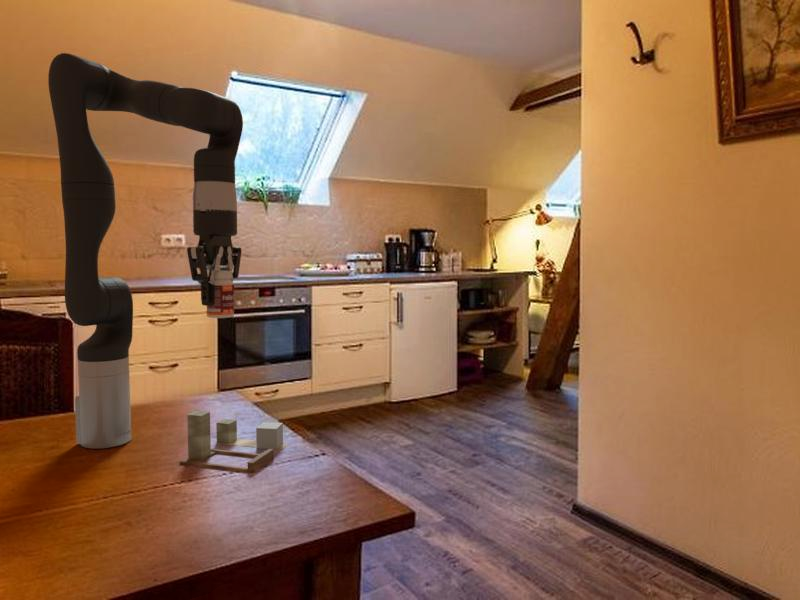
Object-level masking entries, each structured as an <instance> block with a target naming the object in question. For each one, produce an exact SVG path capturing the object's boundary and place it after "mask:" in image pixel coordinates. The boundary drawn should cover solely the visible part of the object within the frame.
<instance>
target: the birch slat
mask: <svg viewBox="0 0 800 600" xmlns="http://www.w3.org/2000/svg"><path fill="white" fill-rule="evenodd" d="M237 422H238V421H237V419H229V418H228V419H227V418H223V419H221V420H219V421H217V422H216V427H215V429H216V441H215V442H214V444H218V445H227V446H228V445H229V446H237V447H247V448H256V449H257V447H256V440H252V439H251V440H250V439H241V438H238V428H237V426H238V425H237ZM288 446H290V444H288V443H287V444H286V443H282V444H281V445H280V447H279V448H278V449H274V451H282V450H283V449H284V448H287V447H288Z"/></svg>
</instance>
